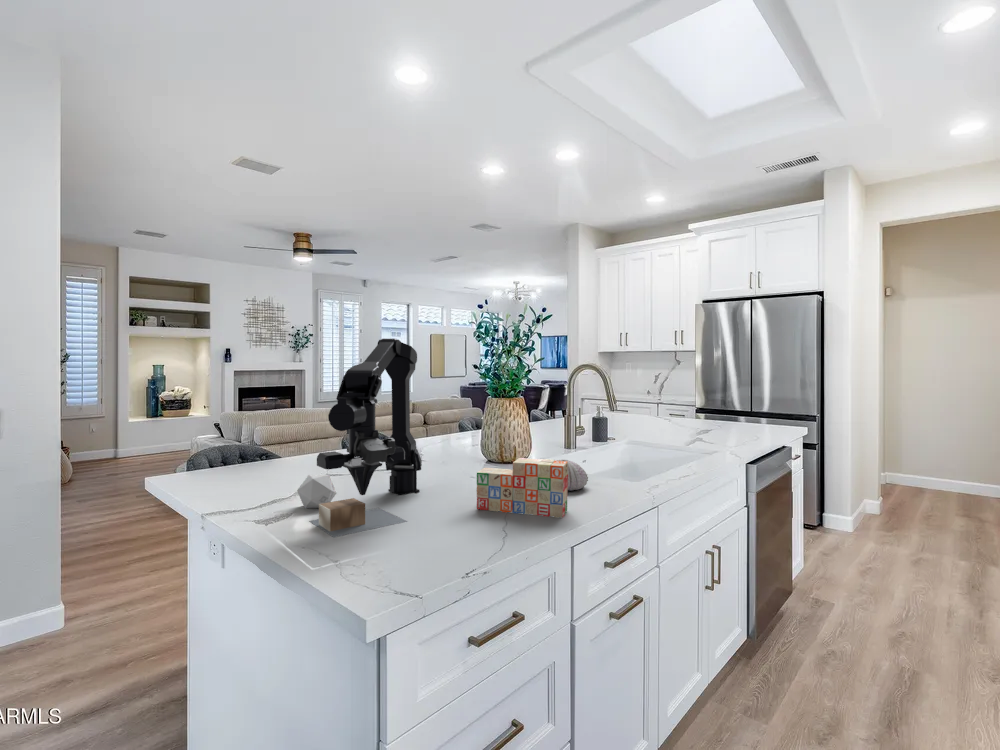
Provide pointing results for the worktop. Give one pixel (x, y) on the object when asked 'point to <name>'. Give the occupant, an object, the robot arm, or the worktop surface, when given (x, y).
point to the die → (316, 491)
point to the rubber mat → (366, 522)
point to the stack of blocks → (525, 488)
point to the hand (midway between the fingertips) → (362, 494)
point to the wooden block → (341, 514)
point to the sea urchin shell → (575, 476)
